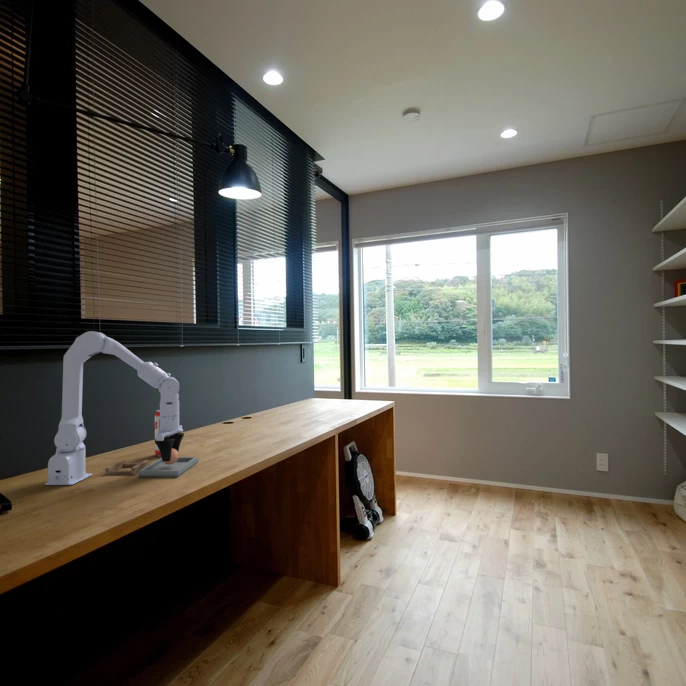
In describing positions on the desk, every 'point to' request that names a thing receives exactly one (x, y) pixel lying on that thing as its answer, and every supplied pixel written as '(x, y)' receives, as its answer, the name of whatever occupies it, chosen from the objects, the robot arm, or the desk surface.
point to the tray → (168, 468)
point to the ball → (172, 457)
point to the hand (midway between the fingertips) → (170, 458)
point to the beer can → (157, 430)
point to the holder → (134, 470)
